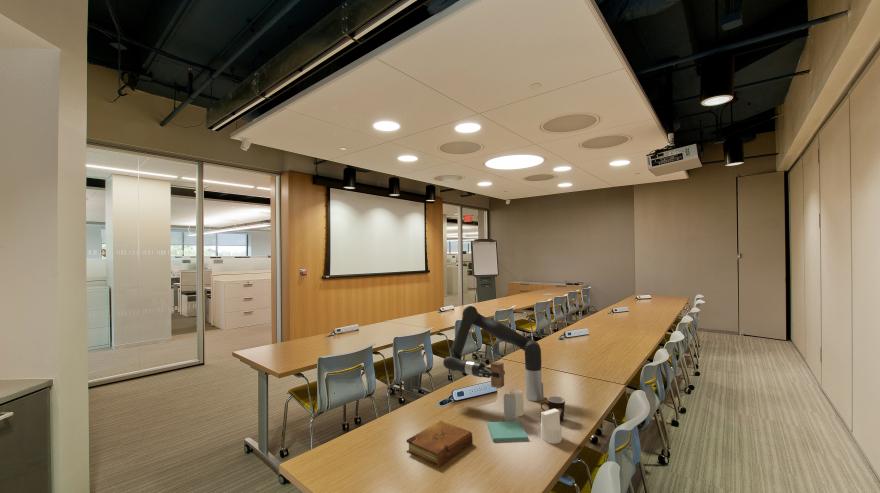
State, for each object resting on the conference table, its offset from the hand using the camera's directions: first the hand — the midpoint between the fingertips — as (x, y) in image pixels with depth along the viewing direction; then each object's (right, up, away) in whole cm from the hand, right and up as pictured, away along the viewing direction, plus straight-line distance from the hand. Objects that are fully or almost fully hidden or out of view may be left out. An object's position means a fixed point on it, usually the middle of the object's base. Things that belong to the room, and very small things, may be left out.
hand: (501, 374), depth 184 cm
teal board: (-1, -21, -18) cm, 28 cm away
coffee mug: (+26, -21, -5) cm, 34 cm away
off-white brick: (+8, -22, +1) cm, 23 cm away
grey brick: (+3, -22, -5) cm, 22 cm away
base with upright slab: (+18, -21, -25) cm, 37 cm away
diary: (-33, -22, -30) cm, 49 cm away
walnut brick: (-2, -7, +1) cm, 7 cm away
